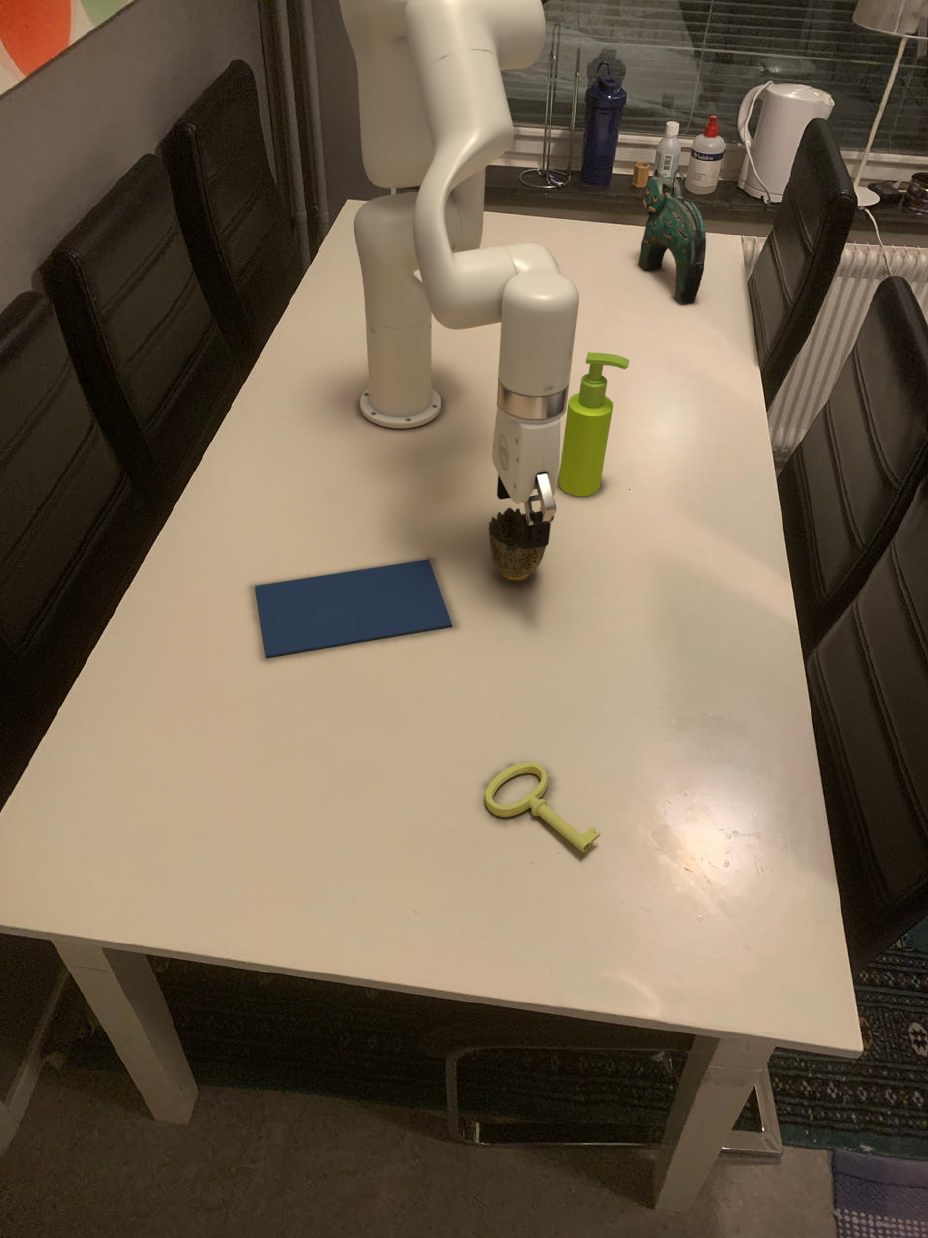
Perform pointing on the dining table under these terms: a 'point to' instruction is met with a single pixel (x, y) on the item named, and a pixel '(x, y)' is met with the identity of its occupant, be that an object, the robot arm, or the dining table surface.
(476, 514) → the dining table surface
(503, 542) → the dark brown rounded piece
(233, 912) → the dining table surface
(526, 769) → the key
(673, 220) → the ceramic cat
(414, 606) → the cloth
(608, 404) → the soap dispenser
